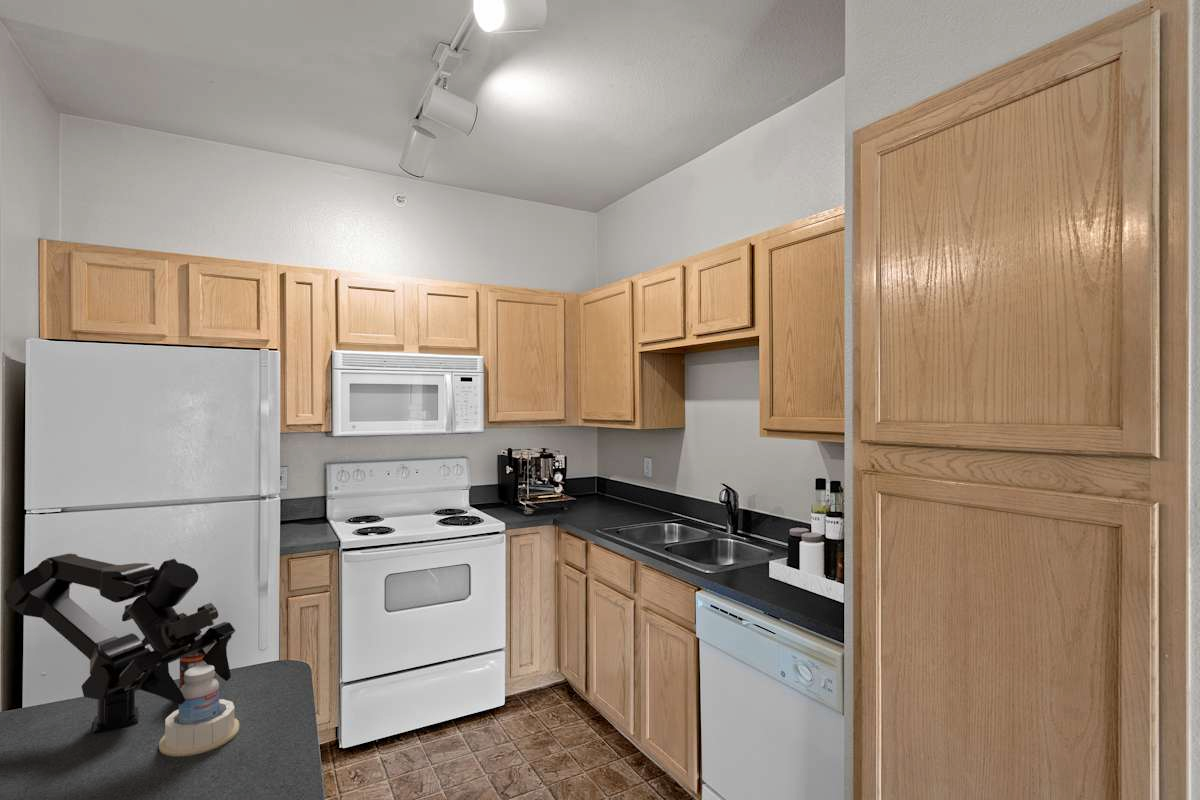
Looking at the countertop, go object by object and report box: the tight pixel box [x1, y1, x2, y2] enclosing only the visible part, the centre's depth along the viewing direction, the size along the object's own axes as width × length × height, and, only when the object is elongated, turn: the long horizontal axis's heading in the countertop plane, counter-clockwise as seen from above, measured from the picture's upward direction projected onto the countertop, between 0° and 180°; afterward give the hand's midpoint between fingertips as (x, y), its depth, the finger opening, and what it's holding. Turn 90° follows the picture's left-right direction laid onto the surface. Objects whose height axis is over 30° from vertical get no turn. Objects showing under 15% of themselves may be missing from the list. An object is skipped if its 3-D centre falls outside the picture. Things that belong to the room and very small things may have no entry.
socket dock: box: [158, 698, 240, 758], centre depth 109 cm, size 12×12×4 cm
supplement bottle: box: [179, 633, 215, 689], centre depth 126 cm, size 6×6×11 cm
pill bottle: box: [178, 665, 220, 725], centre depth 109 cm, size 6×6×11 cm
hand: (206, 690), depth 109 cm, fingers open, 9 cm apart
